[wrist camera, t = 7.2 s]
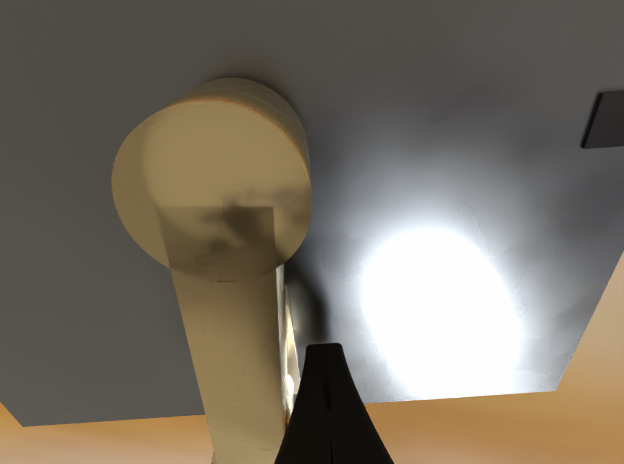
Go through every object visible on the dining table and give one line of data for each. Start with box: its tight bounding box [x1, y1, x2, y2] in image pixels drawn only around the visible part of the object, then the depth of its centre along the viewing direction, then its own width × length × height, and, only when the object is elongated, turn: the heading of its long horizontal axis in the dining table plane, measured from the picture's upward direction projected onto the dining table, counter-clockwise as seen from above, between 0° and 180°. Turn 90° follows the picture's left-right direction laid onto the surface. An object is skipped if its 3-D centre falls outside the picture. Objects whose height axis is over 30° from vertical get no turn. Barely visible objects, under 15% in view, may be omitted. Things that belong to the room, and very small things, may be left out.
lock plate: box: [0, 0, 624, 427], centre depth 8 cm, size 20×20×2 cm
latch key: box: [111, 78, 312, 464], centre depth 8 cm, size 11×3×2 cm, turn 179°
